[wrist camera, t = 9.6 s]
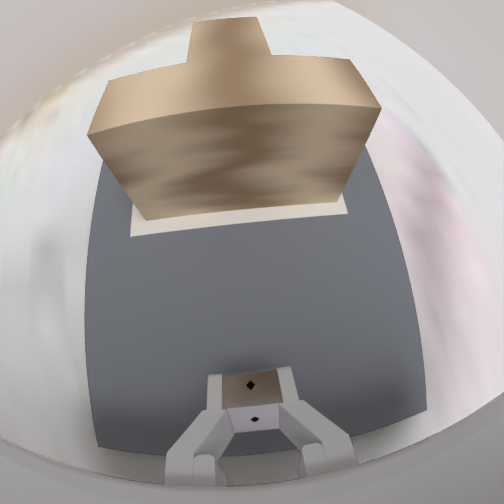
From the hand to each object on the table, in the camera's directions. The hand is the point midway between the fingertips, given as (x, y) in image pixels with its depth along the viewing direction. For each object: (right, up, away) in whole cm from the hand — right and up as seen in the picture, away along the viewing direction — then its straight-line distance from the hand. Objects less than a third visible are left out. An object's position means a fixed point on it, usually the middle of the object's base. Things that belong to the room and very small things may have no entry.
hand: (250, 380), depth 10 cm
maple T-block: (-1, +12, +9) cm, 15 cm away
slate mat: (-1, +6, +7) cm, 9 cm away
